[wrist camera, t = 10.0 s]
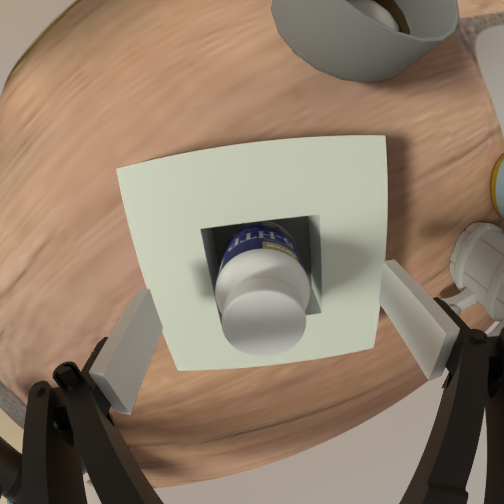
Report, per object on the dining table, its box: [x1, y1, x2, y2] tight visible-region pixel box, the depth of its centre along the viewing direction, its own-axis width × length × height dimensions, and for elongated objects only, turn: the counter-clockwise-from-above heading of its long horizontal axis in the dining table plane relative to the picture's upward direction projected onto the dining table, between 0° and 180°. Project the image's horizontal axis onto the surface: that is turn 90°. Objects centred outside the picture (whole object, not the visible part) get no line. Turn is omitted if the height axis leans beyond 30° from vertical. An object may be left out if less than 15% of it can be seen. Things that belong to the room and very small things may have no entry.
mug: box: [441, 222, 504, 337], centre depth 16 cm, size 8×12×12 cm, turn 134°
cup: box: [271, 0, 460, 83], centre depth 10 cm, size 10×9×10 cm
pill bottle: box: [215, 221, 310, 356], centre depth 17 cm, size 5×5×9 cm
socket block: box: [116, 135, 388, 371], centre depth 19 cm, size 16×16×4 cm
